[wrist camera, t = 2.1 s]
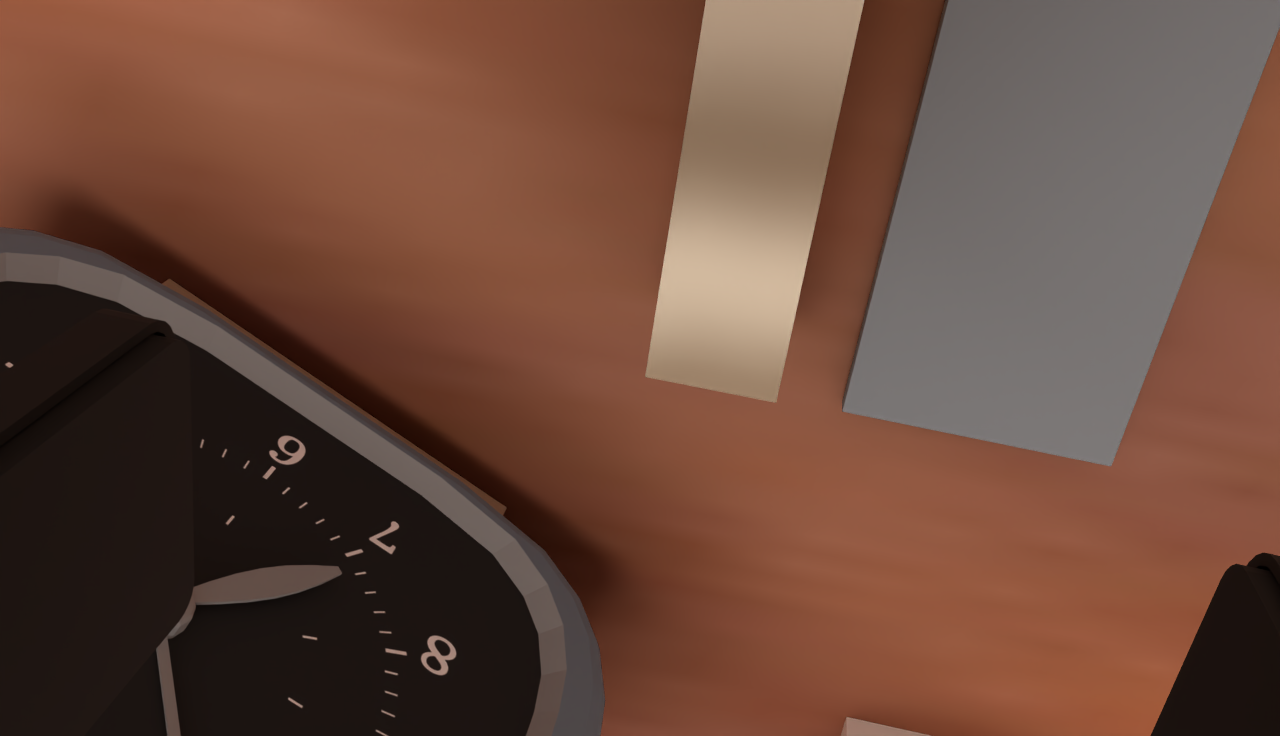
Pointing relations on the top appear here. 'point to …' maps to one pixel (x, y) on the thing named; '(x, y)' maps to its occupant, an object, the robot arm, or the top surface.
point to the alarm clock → (320, 550)
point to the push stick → (749, 189)
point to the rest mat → (1051, 213)
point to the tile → (873, 729)
